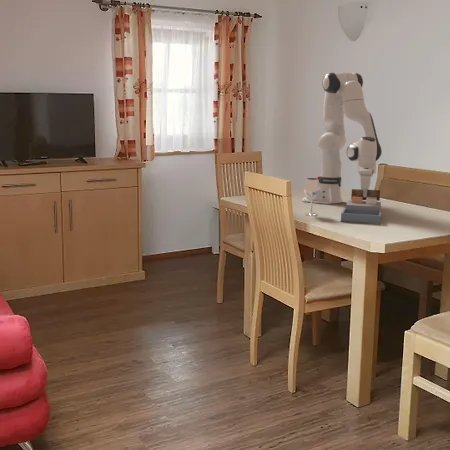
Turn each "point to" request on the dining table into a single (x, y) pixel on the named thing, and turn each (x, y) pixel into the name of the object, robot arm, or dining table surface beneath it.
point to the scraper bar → (369, 193)
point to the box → (361, 216)
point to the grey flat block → (363, 206)
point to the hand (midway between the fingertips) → (365, 196)
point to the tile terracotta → (357, 199)
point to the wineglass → (312, 191)
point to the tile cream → (371, 200)
